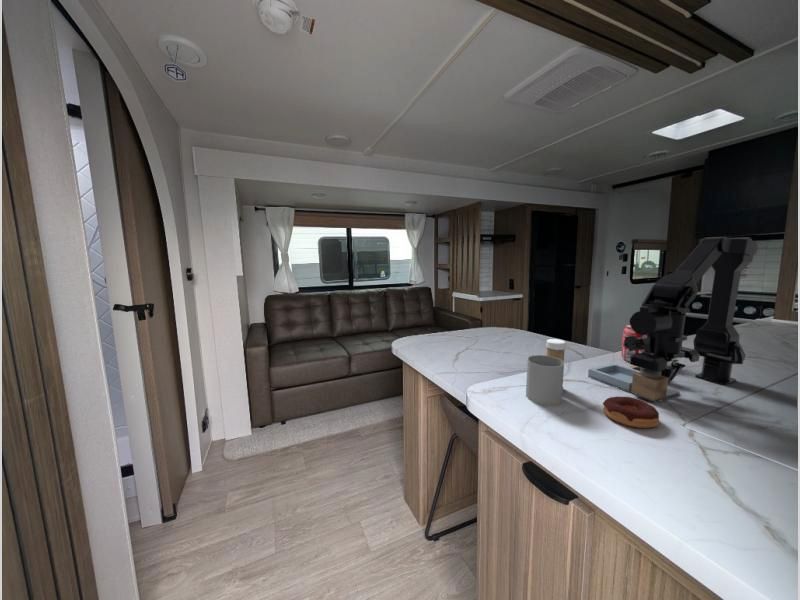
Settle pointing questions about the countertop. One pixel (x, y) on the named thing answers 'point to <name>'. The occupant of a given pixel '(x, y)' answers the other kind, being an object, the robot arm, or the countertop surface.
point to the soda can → (627, 332)
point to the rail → (669, 394)
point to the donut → (631, 412)
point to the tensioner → (649, 384)
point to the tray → (614, 375)
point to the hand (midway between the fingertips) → (661, 389)
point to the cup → (544, 380)
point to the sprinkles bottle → (556, 348)
